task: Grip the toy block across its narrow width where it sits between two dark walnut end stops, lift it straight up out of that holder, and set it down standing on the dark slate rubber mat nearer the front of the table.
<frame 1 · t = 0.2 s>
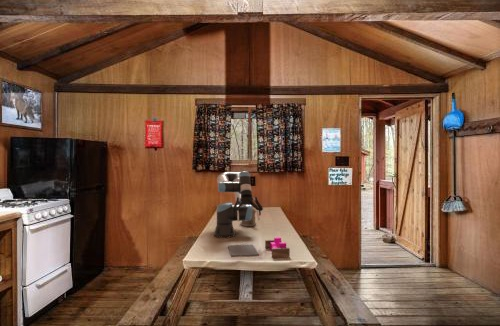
hand: (248, 220, 213), 16 cm above the table, tool tilted 35°, fingers open, 13 cm apart
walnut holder: (276, 252, 197), on the table
toy block: (278, 252, 197), on the table
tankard: (249, 225, 276), on the table
slate mat: (242, 250, 200), on the table
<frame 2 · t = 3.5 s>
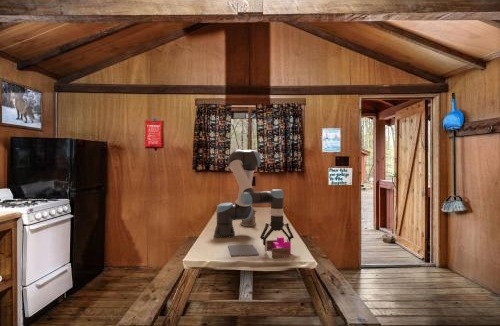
hand: (276, 250, 197), 1 cm above the table, tool pointing down, fingers open, 13 cm apart
toy block: (281, 252, 198), on the table
everything else where it was.
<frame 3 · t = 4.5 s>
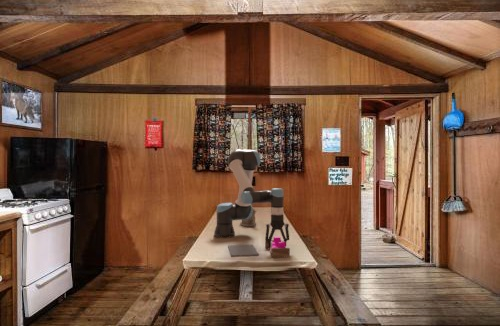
hand: (277, 252, 197), 0 cm above the table, tool pointing down, fingers open, 7 cm apart
toy block: (277, 252, 198), on the table
everything else where it was.
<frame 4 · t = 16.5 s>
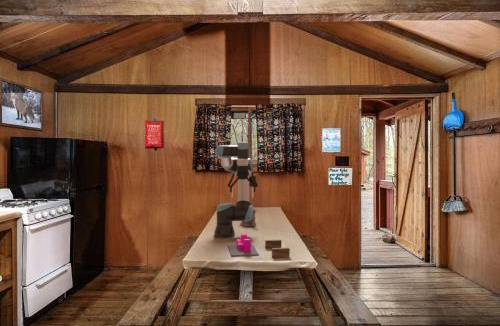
hand: (242, 197, 217), 31 cm above the table, tool pointing down, fingers open, 13 cm apart
toy block: (243, 249, 201), point 1 cm above the table, touching slate mat
everything else where it was.
at the end: toy block inside the target area on the slate mat (1.1 cm from its centre), point 0.6 cm above the slate mat's base; toy block tilted 0°; the gripper is holding nothing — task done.
